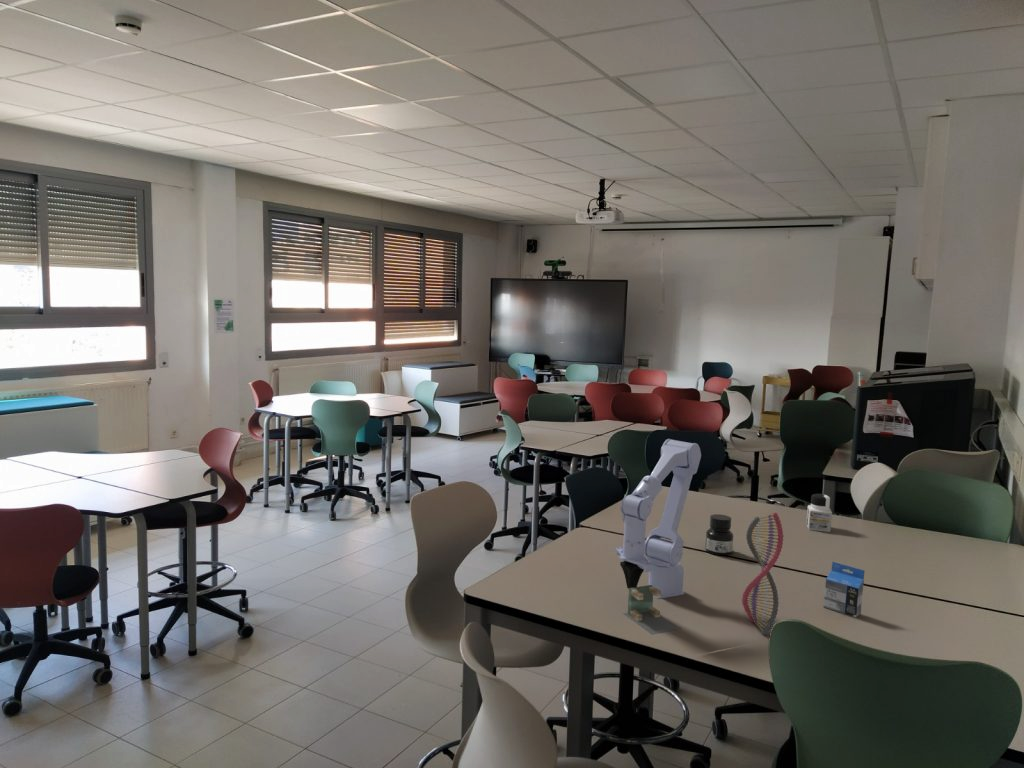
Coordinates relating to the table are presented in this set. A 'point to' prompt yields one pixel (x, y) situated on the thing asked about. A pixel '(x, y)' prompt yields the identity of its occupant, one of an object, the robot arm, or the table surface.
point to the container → (819, 513)
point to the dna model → (763, 571)
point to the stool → (642, 601)
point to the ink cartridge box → (844, 590)
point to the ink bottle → (719, 535)
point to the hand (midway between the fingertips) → (631, 588)
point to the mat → (654, 623)
